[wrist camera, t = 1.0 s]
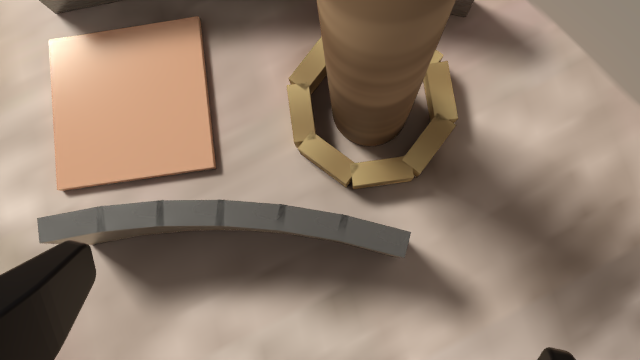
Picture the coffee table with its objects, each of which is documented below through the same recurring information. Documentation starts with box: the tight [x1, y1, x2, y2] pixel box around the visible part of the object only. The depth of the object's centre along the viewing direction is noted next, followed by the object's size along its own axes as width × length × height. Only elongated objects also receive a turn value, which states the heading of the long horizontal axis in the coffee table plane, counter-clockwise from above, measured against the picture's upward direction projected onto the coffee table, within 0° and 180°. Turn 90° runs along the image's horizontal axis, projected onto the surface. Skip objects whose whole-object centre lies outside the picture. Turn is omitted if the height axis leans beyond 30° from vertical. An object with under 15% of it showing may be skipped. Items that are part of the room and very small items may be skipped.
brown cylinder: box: [287, 0, 458, 189], centre depth 18 cm, size 7×7×13 cm
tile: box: [49, 16, 216, 191], centre depth 25 cm, size 8×8×1 cm
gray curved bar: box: [37, 0, 474, 258], centre depth 22 cm, size 16×21×4 cm
